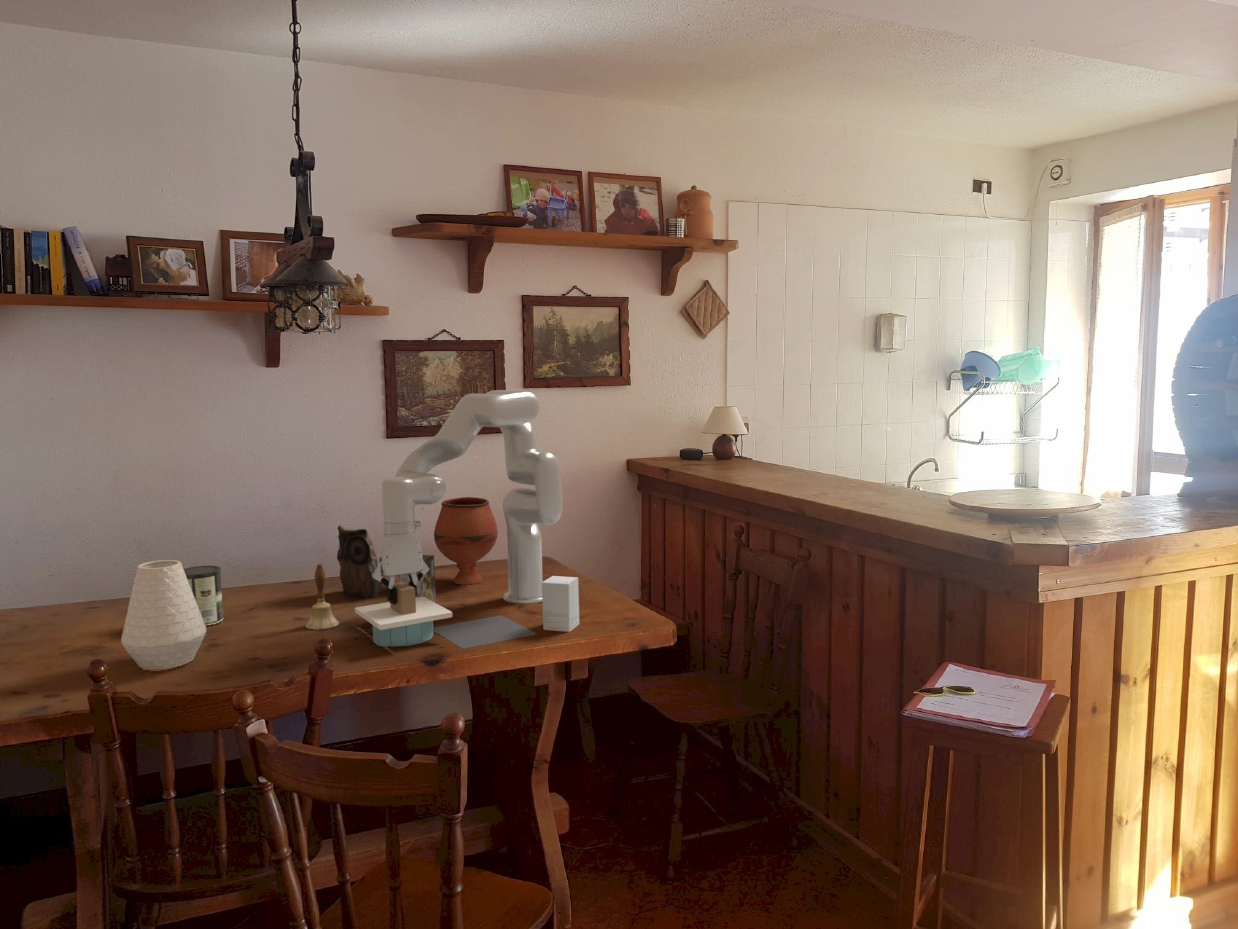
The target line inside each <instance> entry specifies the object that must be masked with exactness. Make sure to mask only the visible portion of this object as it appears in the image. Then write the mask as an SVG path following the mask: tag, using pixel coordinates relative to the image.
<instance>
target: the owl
mask: <svg viewBox="0 0 1238 929" xmlns="http://www.w3.org/2000/svg"><path fill="white" fill-rule="evenodd" d="M337 530H338V536H337V537H338V547H339V548H338V550H337V554H336V559H337V561H338V564H339V566H340V570H339V578H340V582H341V584H342V588H343V589H342V592H343V593H342V592H341V595H342V594H343V595H342V596H343V597H346V596H347V597H349V598H354V599H375V598H377V597H378V595H380V593H381V592H382V591H383V589H382V588H383V583H381V582H380V581H378V580H376V579H374V578H373V577H372V575H373V573H374V572H375V570H376V568H377V567H378V556H377V554H376V552H375V548H374V544H373V541H372V539H371V536H370V535H369V533H368V530H367V529H366V528H360V527H354V526H348V527H347V526H342V525H341V524H340V525H337ZM382 574H383V573H381V577H383V575H382ZM380 591H381V592H380ZM379 592H380V593H379ZM377 594H378V595H377Z"/></svg>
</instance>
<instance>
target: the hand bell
mask: <svg viewBox="0 0 1238 929" xmlns="http://www.w3.org/2000/svg"><path fill="white" fill-rule="evenodd" d="M314 580H315V581H314V582H315V585H316V589H317V602H316V603H315V604H313V605H312V608H311V616H310V617H309V620H308V622H306V624H305V628H306V629H307V628H308V629H307V630H311V629H313V631H319V630H321V631H322V630H330V629H332V628H336V627H337V626H339V624H340V622H339V620H337V619H336V618H335V615H333V611H332V608H331V604H330V603H329V602H326V601H325V583H326V572H325V569H324V567H323V563H322V564H321V563H318V564H316V569H315V571H314Z"/></svg>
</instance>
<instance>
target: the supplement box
mask: <svg viewBox="0 0 1238 929" xmlns="http://www.w3.org/2000/svg"><path fill="white" fill-rule="evenodd" d="M543 581H544V582H542V602H541V603H542V622H543V623H542V624H543V628H542V629H543V631H544V630H546V631H555V632H565V633H566V632H568V633H569V632H571V631H572V630H574V629H575V628H577V627H578V626H579V625H580V600H579V594H580V590H579V577H575V576H560V575H559V576H558V575H551V576H550V577H549V578H547V579H545V580H543Z"/></svg>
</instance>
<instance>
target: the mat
mask: <svg viewBox="0 0 1238 929" xmlns="http://www.w3.org/2000/svg"><path fill="white" fill-rule="evenodd" d="M433 633H436V634H438V635H439V636H440V637H443V638H445V639H446V640H447V641H449V642H450V643H452V644H454V645H455V646H457V647H459V648H460V649H462V650H465V649H470V648H474V647H475V648H476V647H479V646H480V647H481V646H485V645H489V644H495V643H500V642H505V641H511V640H515V639H520V638H524V637H530V636H536V635H538V633H536V632H535V631H533V630H530V629H529V628H527V627H524V626H522V625H521V624H519V623H517V622H515V621H513V620H511V619H509V618H506V617H505V616H503V615H495V616H489V617H484V618H478V619H473V620H468V621H467V620H466V621H463V622H455V623H451V624H445V625H441V626H435V627H434V626H433Z"/></svg>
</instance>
